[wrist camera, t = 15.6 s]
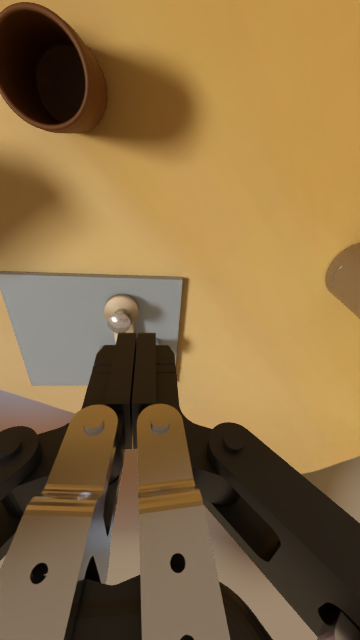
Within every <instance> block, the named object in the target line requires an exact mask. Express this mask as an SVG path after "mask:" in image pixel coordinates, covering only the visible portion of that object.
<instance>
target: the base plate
mask: <svg viewBox="0 0 360 640" xmlns="http://www.w3.org/2000/svg"><path fill="white" fill-rule="evenodd" d="M182 282H183V279H182V277H164V276H133V275H102V274H70V273H39V272H8V271H0V289H1V293H2V296H3V299H4V302H5V305H6V308H7V311H8V314H9V317H10V320H11V323H12V326H13V329H14V333H15V336H16V339H17V342H18V345H19V348H20V351H21V354H22V357H23V360H24V363H25V366H26V369H27V373H28V376H29V379H30V382H31V385H32V386H62V385H88V384H89V380H90V377H91V374H92V369H93V366H94V362H95V358H96V354H97V353H98V350H99V346H100V345H116V344H115V337H114V332H113V331H111V330H110V329H109V327H108V321H107V320H106V318H105V316H104V309H105V305H106V302H107V301H108V299H109V298H110V297H112V296H114V295H117V294H125V295H128V296H130V297H132V298H133V299H134V300H135V301H136V302H137V304H138V308H139V311H138V318H137V320H136V321H135V323H134V333H137V337H138V333H156V338H157V339H159V340H160V341H161V345H169V347H170V348H171V350H172V351H173V352H174V354H175V366H176V355H177V343H178V331H179V319H180V307H181V294H182Z"/></svg>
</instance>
